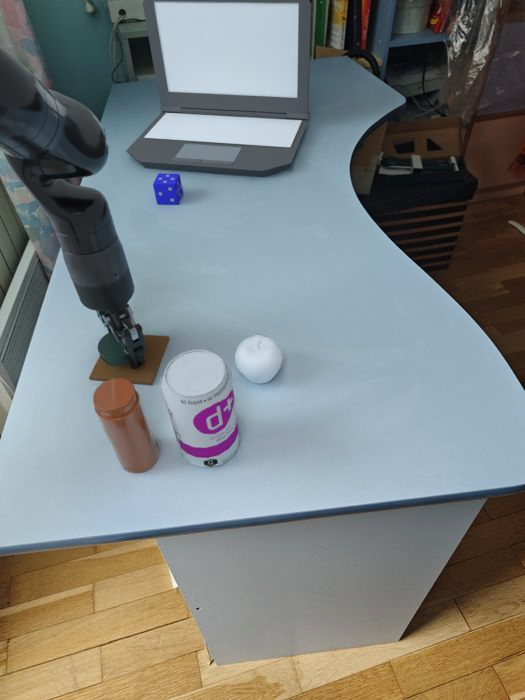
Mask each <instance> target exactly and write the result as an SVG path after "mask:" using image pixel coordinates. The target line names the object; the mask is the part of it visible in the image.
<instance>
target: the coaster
mask: <svg viewBox="0 0 525 700" xmlns="http://www.w3.org/2000/svg"><path fill="white" fill-rule="evenodd" d="M143 335H144V340H145V344H146V348H147V351H146V352H144V353H142V354H143V357H144V360H145V363H144V364H143V365H142V366H140V367H138V368H136V369H132V368H131V366H130V364H129V363H127V364H124V365H120V366H112V365H108V364H106V363H105V362H104V361H103V360H102V359H101V357H100V355H99V356H98V358H97V360H96V362H95V364H94V367H93V368H92V371H91V373H90V375H89V376H88V379H89V381H97V382H105V381H108V380H110V379H114V378H123V379H126V380H129V381H130V382H131V383H132V384H133V385H145V386H153V384H154V381H155V378H156V375H157V373H158V370H159V369H160V365H161V363H162V361H163V358H164V355H165V352H166V349H167V347H168V344H169V341H170V335H169V336H168V335H157V334H144V333H143Z"/></svg>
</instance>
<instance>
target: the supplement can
mask: <svg viewBox="0 0 525 700" xmlns="http://www.w3.org/2000/svg"><path fill="white" fill-rule="evenodd" d="M160 388H161V389H160V390H161V392H162V396H163V398H164V402H165V405H166V409H167V412H168V416H169V419H170V423H171V425H172V428H173V432H174V435H175V438H176V442H177V445H178V448H179V451H180V454H181V456H182V457H183V458H184V459H185V461H187V462H188V463H189V464H191V465H193V466H195V467H198V468H209V469H210V468H214V467H218V466H221V465H224V464H225V463H226V462H229V461H230V460H231V459H232V458H233V456H234V455H235V454H236V453H237V452H238V449H239V446H240V443H241V440H240V429H239V422H238V420H239V419H238V413H237V406H236V405H237V404H236V398H235V391H234V383H233V374H232V371H231V370H230V367H229V366H228V364H227V363H226V362H225V361H224V360H223V359H222V358H221V357H220V356H219V355H217V354H216V353H215V352H214V351H209V350H207V349H191V350H188V351H184V352H182V353H180V354H177V355H176V356H175V357H173V358H172V359H171V360H170V361H169V362H168V364H167V365H166V367H165V369H164V374H163V376H162V378H161V387H160Z"/></svg>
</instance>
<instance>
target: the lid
mask: <svg viewBox="0 0 525 700" xmlns="http://www.w3.org/2000/svg"><path fill="white" fill-rule="evenodd" d="M124 330H125V329H123V330H121V331H117V333H118V334H121V333H122V331H124ZM97 351H98V355H99V356H100V357H101V359H102V360H103V361H104V362H105V363H106V364H108V365H112V366H120V365H124V364H127V363H129V361H128V358H127V355H126V353H125V352H124V349H123V347H122V345H121V342H118V341H117V340H115V338H114V336H113V334H112V332H110V333H109V332H107V333H106V334H104V335H103V336H102V337H101V338H100V340H99V341H98V343H97Z"/></svg>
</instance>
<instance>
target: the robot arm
mask: <svg viewBox="0 0 525 700" xmlns="http://www.w3.org/2000/svg"><path fill="white" fill-rule="evenodd" d="M0 152H2V153H3V156H4V157H5V160H6V162H7V163H8V166H9V167H10V169H11V170H12V172H13V173H14V174H15V176H16V177H17V179H18V180H19V181H20V182H21V184H22V185H23V186H24V187H25V188H26V190H27V191H28V193H30V196H32V197H33V199H34V200H35V201H36V203H37V204H38V205H39V207H40V209H42V211H43V213H44V214H45V215H46V216H47V218H48V220H49V221H50V224H51V226H52V228H53V232H54V234H55V236H56V239H57V241H58V243H59V246H60V249H61V252H62V256H63V261H64V264H65V267H66V268H67V271H68V274H69V276H70V279H71V281H72V283H73V286H74V289H75V291H76V293H77V296H78V298H79V300H80V303H81V304H82V305H83V306H84V307H85V308H87V309H88V310H91V311H95V312H96V316H97V318H98V319H99V320H100V321H101V323H102V325H103V327H104V328H105V329H106V330H107V333H110V332H112V334H113V336H114V338H115V340H117V341H118V342H121V345H122V347H123V349H124V352H125V353H126V355H127V358H128V361H129V364H130V366H131V368H132V369H136V368H138V367H140V366H142V365H143V364H144V363H145V360H144V357H143V354H142V353H144V352H146V351H147V348H146V344H145V340H144V335H145V334H144V331H143V327H142V325H140V323H139V322H137V323H136V320H135V318H134V313H133V310H132V307H131V306H130V304H129V301H130V300H131V299H132V297H133V296H134V295H135V294H134V293H135V284H134V280H133V277H132V273H131V271H130V267H129V263H128V260H127V256H126V253H125V250H124V247H123V243H122V241H121V240H120V238H119V235H118V233H117V229H116V225H115V223H114V219H113V216H112V213H111V209H110V206H109V203H108V201H107V198H106V196H105V195H104V194H103V193H102V192H101V191H100V190H98V189H96V188H93V187H90V186H89V187H88V186H84V185H79V184H74V183H70V182H68V181H65V180H67V179H79V178H81V179H82V178H88V177H92V176H95V175H97V174H98V173H100V172H101V171H102V170H103V169H104V167H105V166H106V164H107V161H108V158H109V152H110V151H109V140H108V137H107V134H106V130H105V129H104V127H103V125H102V123H101V121H100V120H99V119H98V117H97V116H96V115H95V114H94V113H93V111H92V110H91V109H90V108H88V107H87V106H86V105H84V104H83V103H81V102H79V101H78V100H75V99H74V98H72V97H69V96H67V95H65V94H62V93H60V92H58V91H55V90H53V89H49V88H47V87H46V86H45V85H44V84H43V82H41V80H39V79H38V77H37V76H35V74H33V72H32V71H31V70H29V69H28V67H26V66H25V65H24V63H22V62H21V61H19V59H17V58H16V57H15V56H14V55H13V54H12V53H10V52H9V51H7V50H6V49H5V48H3V47H2V46H0ZM123 329H125V330H124V331H122V333H121V334H118V333H117V331H121V330H123ZM143 334H144V335H143Z"/></svg>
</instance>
